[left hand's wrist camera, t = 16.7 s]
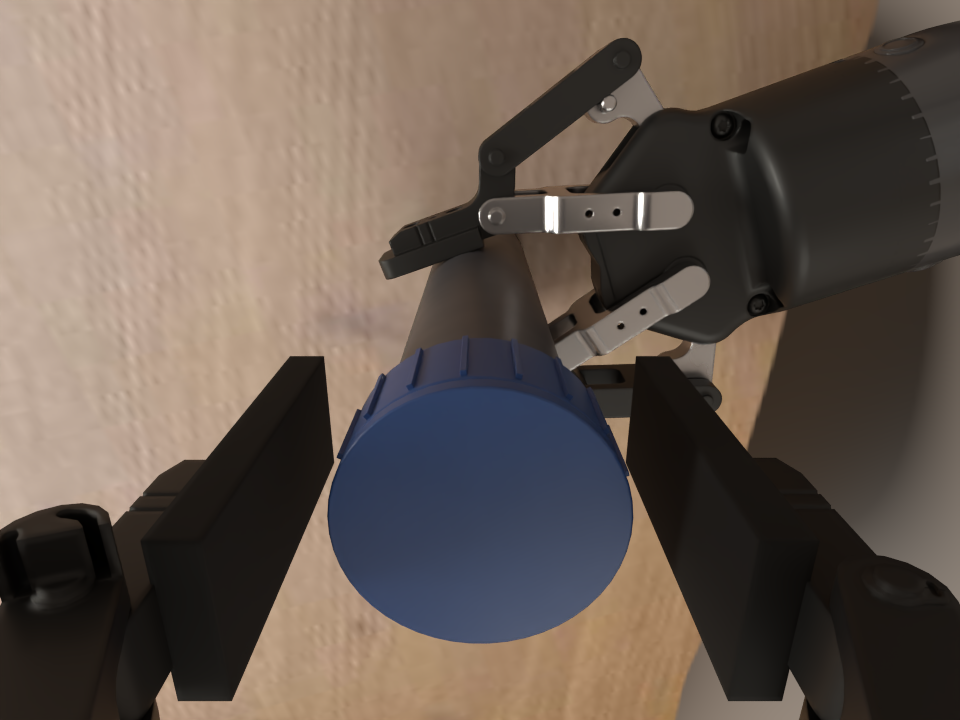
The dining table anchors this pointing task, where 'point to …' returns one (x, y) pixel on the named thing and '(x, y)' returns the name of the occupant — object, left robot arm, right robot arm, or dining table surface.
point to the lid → (480, 494)
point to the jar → (482, 300)
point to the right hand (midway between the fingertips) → (411, 324)
